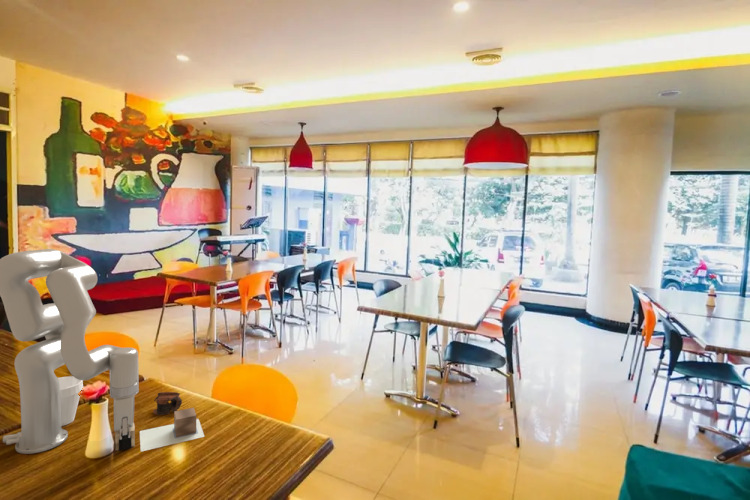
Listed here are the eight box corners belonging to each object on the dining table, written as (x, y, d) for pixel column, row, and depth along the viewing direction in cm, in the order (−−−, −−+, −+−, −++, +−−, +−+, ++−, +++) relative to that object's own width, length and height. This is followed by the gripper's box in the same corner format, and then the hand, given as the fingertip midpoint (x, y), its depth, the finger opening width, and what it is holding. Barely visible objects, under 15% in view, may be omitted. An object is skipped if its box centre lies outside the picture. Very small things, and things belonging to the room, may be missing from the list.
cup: (58, 433, 130) (57, 392, 129) (28, 428, 133) (27, 388, 132) (92, 415, 142) (92, 378, 141) (64, 411, 145) (63, 374, 144)
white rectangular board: (140, 454, 122) (140, 451, 122) (139, 433, 133) (139, 430, 133) (204, 438, 131) (204, 436, 131) (198, 420, 142) (198, 418, 142)
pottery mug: (145, 416, 144) (149, 392, 148) (166, 417, 152) (170, 394, 156) (170, 415, 140) (174, 390, 144) (190, 416, 148) (194, 392, 152)
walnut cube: (176, 437, 130) (176, 419, 129) (174, 428, 135) (174, 411, 134) (196, 432, 133) (196, 415, 133) (193, 424, 138) (193, 407, 138)
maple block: (115, 453, 122) (115, 434, 121) (116, 444, 126) (115, 426, 125) (134, 448, 124) (134, 430, 124) (134, 440, 129) (134, 422, 128)
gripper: (110, 380, 129) (111, 435, 130) (108, 403, 114) (109, 463, 116) (138, 376, 133) (138, 429, 134) (139, 397, 118) (140, 456, 120)
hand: (125, 444), depth 125 cm, fingers closed on maple block, 5 cm apart
